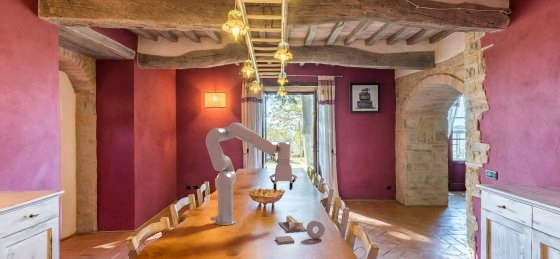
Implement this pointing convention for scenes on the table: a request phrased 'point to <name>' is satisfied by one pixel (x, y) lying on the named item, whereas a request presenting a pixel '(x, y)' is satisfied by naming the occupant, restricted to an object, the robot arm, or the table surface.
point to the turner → (293, 223)
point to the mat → (286, 227)
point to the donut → (320, 232)
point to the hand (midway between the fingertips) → (282, 190)
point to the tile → (285, 240)
